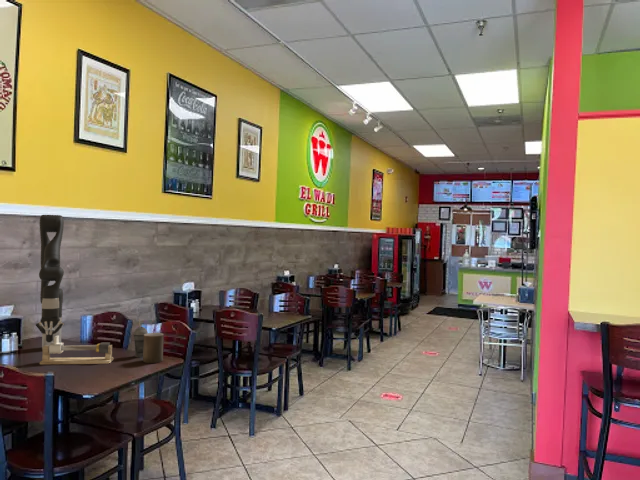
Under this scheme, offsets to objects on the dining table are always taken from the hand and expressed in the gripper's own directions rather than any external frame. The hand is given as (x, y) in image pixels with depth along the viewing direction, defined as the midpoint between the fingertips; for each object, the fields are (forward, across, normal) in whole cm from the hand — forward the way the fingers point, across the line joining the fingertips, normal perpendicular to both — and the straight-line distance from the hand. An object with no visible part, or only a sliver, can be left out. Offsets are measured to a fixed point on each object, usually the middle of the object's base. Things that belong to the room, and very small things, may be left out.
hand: (49, 342), depth 240 cm
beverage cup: (+10, -41, -10) cm, 44 cm away
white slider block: (+5, -3, 0) cm, 6 cm away
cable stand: (+10, -13, 0) cm, 17 cm away
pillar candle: (+10, -49, -1) cm, 50 cm away
